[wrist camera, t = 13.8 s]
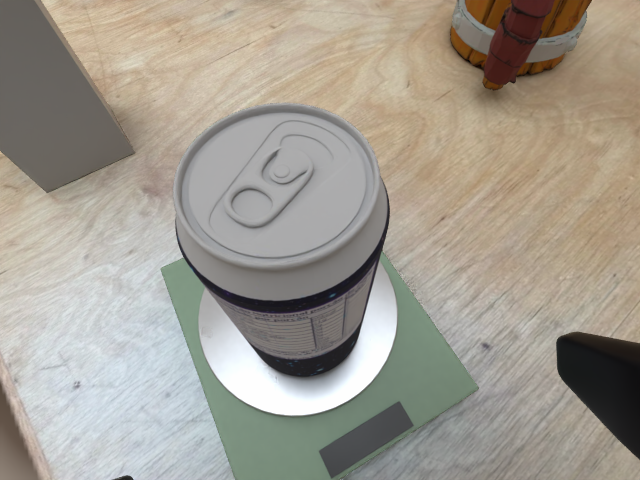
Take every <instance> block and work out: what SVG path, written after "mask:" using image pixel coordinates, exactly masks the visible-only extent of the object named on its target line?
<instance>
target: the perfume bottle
mask: <svg viewBox="0 0 640 480" xmlns="http://www.w3.org/2000/svg"><path fill="white" fill-rule="evenodd" d="M0 151H1V152H2V153H3V154H4V155H5V156H7V157H8V158H9V159H10V160H11V161H12V162H13V163H14V164H16V165H17V166H18V167H19V168H20V169H21V170H22V171H23V172H24V173H26V174H27V175H28V176H29V177H30V178H31V179H32V180H33V181H34V182H36V183H37V184H38V185H39V186H40V187H41V188H42V189H43V190H45V191H46V192H50V191H52V190H54V189H56V188H58V187H61V186H63V185H65V184H67V183H69V182H72V181H74V180H76V179H78V178H80V177H83V176H85V175H87V174H89V173H91V172H94V171H96V170H98V169H100V168H102V167H105V166H107V165H109V164H111V163H114V162H116V161H118V160H120V159H122V158H125V157H127V156H129V155H131V154H133V153H135V151H134V149H133V148H132V146H131V144H130V142H129V141H128V139H127V137H126V135H125V133H124V132H123V130H122V128H121V126H120V124H119V123H118V121H117V119H116V117H115V116H114V114H113V112H112V110H111V108H110V107H109V105H108V103H107V102H106V100H105V99H104V97H103V95H102V94H101V92H100V91H99V89H98V88H97V86H96V85H95V83H94V82H93V80H92V78H91V77H90V75H89V74H88V72H87V71H86V69H85V68H84V66H83V65H82V63H81V61H80V60H79V58H78V57H77V55H76V54H75V52H74V51H73V49H72V48H71V46H70V45H69V43H68V41H67V40H66V38H65V37H64V35H63V34H62V32H61V31H60V29H59V28H58V26H57V24H56V23H55V21H54V20H53V18H52V17H51V15H50V14H49V12H48V11H47V9H46V7H45V6H44V4H43V3H42V1H41V0H0Z"/></svg>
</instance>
